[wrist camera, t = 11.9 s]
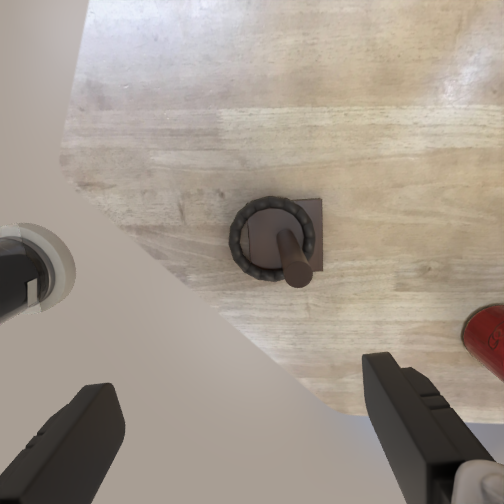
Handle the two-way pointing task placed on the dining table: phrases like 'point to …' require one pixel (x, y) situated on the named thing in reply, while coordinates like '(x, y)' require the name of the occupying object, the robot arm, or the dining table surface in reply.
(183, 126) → the dining table surface
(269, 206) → the hoop
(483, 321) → the soda can
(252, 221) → the peg stand
